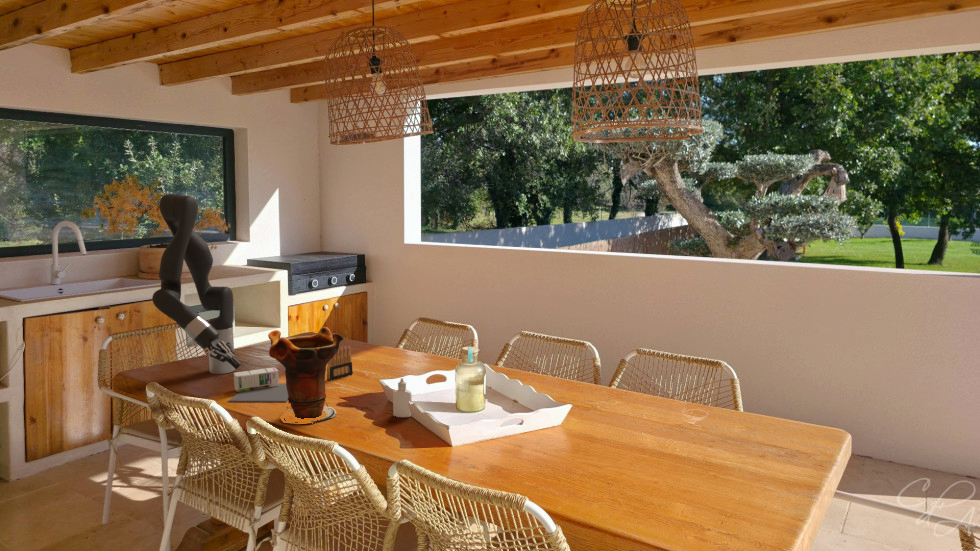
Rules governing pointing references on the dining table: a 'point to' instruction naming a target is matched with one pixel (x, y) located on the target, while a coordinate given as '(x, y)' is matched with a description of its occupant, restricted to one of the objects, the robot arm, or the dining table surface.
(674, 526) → the dining table surface
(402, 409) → the eye dropper bottle
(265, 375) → the syrup box
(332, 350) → the decorative vase
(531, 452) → the dining table surface
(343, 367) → the ammunition clip
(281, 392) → the mat
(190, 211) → the robot arm
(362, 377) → the dining table surface
